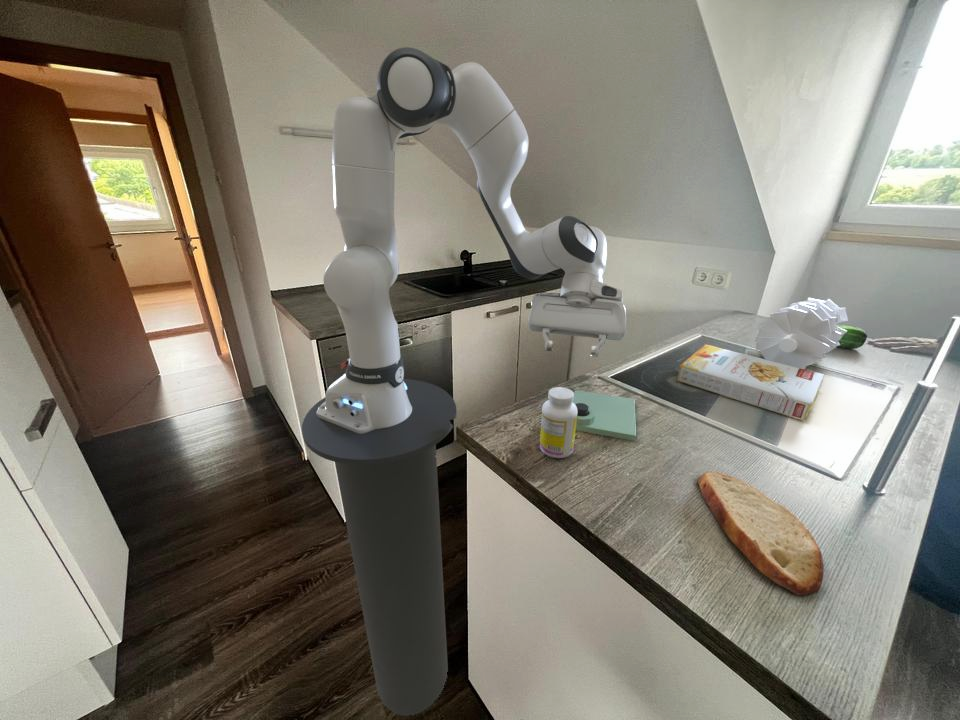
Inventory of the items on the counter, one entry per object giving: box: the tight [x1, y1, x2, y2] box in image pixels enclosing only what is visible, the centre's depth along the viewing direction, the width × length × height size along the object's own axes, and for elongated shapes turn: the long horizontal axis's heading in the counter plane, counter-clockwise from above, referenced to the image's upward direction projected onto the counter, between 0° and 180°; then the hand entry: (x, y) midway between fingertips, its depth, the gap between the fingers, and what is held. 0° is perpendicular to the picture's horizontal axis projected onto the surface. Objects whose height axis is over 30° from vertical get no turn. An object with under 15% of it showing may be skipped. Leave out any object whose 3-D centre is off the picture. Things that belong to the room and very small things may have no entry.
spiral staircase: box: [754, 297, 849, 370], centre depth 115 cm, size 18×18×25 cm
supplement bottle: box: [539, 386, 578, 459], centre depth 75 cm, size 7×7×13 cm
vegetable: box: [836, 325, 868, 350], centre depth 129 cm, size 7×7×20 cm
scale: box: [573, 389, 637, 442], centre depth 88 cm, size 14×16×3 cm
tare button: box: [575, 403, 589, 416], centre depth 84 cm, size 3×3×2 cm
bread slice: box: [697, 471, 825, 597], centre depth 59 cm, size 18×18×4 cm
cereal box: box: [677, 343, 825, 422], centre depth 101 cm, size 20×6×28 cm
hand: (570, 352), depth 80 cm, fingers open, 8 cm apart
